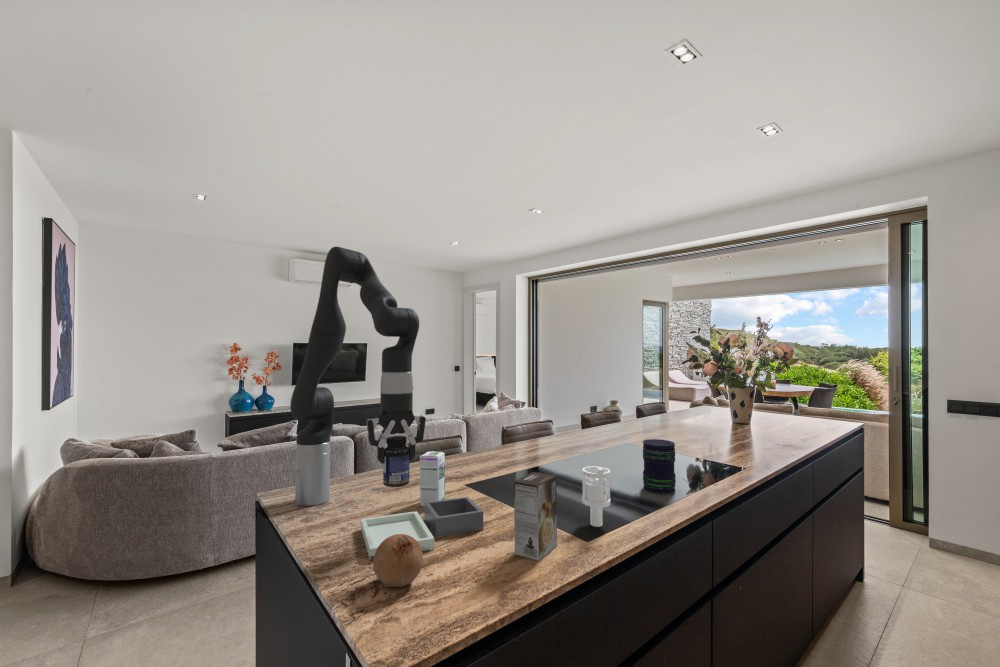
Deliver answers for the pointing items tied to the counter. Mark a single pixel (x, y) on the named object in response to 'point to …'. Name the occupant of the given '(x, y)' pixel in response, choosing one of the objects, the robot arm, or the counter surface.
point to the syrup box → (432, 477)
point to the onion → (398, 560)
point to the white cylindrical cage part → (596, 492)
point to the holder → (453, 516)
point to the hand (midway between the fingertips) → (396, 461)
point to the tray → (395, 530)
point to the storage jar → (659, 466)
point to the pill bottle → (396, 462)
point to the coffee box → (535, 515)
